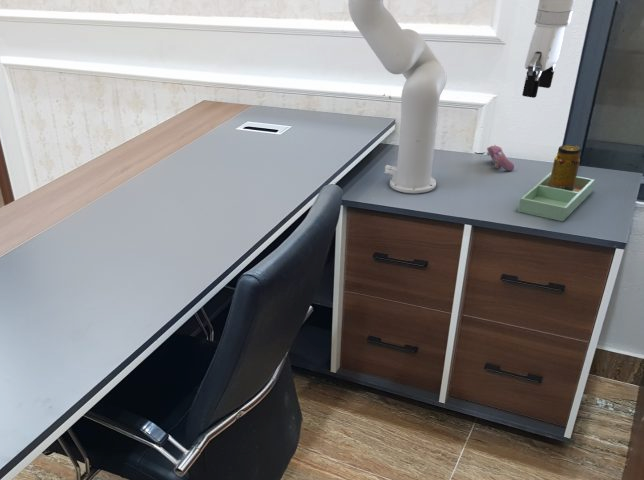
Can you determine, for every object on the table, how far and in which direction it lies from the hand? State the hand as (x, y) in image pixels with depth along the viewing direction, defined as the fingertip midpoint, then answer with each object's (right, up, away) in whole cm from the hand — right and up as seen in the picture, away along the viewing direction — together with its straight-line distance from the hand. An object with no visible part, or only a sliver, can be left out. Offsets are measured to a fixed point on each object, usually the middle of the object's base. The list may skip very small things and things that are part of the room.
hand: (536, 91), depth 178 cm
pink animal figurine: (+5, -11, +33) cm, 35 cm away
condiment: (+13, -23, +13) cm, 29 cm away
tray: (+10, -25, +10) cm, 29 cm away
